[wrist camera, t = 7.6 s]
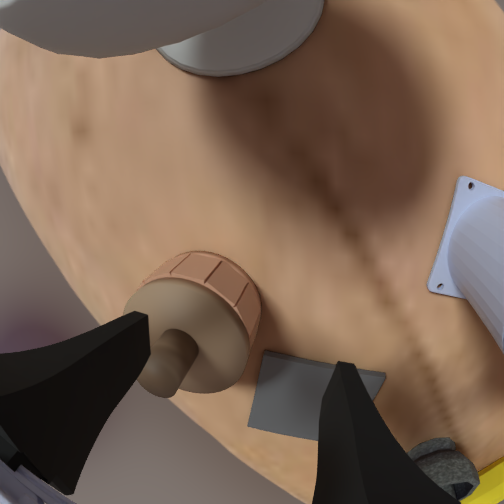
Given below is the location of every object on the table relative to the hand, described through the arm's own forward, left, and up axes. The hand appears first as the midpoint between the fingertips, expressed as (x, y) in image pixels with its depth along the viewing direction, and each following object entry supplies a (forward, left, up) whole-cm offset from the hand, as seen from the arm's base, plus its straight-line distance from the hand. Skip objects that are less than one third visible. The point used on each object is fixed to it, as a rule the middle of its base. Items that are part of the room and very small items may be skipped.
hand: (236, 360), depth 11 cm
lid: (+5, +5, -6) cm, 9 cm away
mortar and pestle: (-22, +20, -11) cm, 32 cm away
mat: (-5, +13, -10) cm, 17 cm away
